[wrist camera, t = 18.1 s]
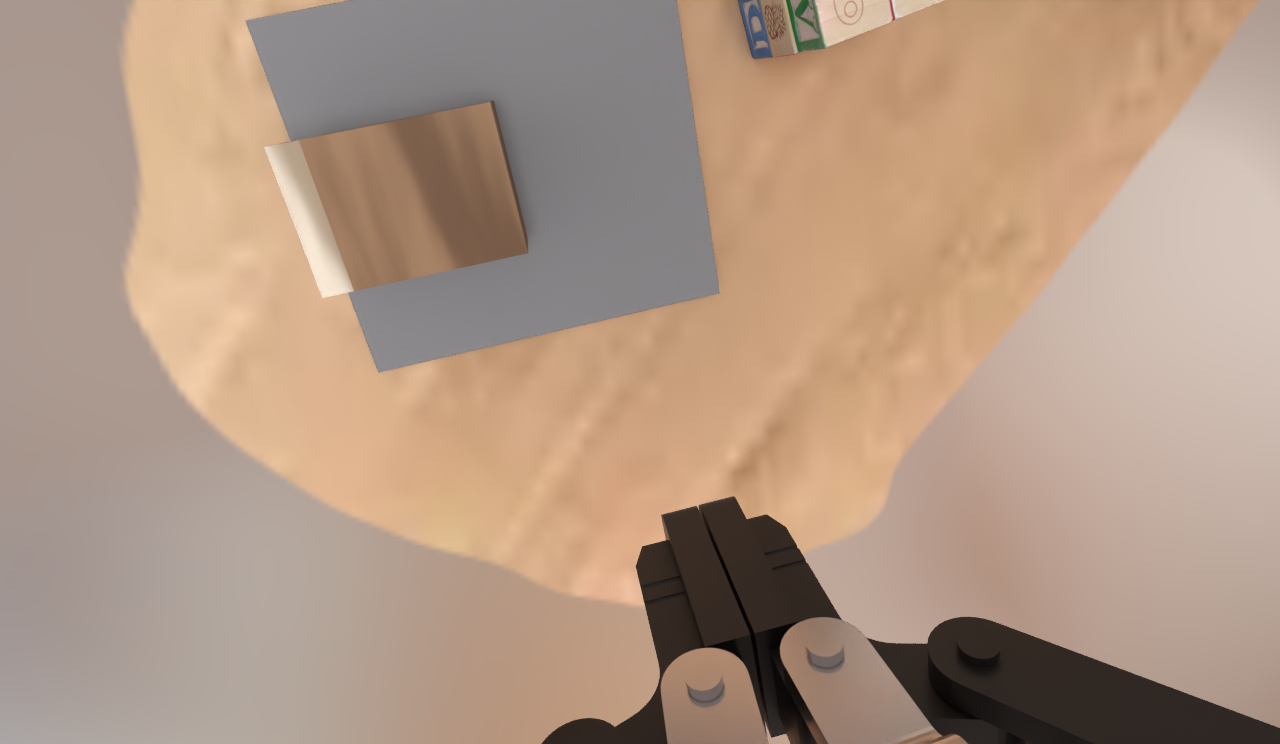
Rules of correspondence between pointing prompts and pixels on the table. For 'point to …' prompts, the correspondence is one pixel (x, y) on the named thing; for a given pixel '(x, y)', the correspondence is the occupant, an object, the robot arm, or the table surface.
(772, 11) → the stack of blocks
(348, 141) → the walnut block
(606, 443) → the table surface
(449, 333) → the mat
